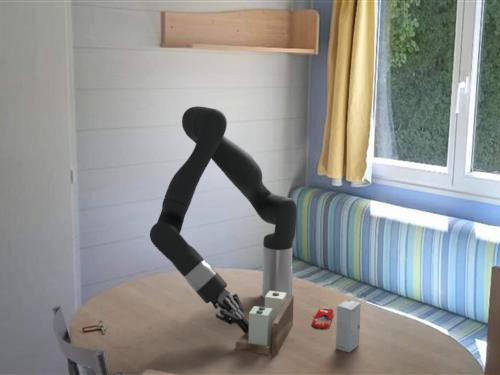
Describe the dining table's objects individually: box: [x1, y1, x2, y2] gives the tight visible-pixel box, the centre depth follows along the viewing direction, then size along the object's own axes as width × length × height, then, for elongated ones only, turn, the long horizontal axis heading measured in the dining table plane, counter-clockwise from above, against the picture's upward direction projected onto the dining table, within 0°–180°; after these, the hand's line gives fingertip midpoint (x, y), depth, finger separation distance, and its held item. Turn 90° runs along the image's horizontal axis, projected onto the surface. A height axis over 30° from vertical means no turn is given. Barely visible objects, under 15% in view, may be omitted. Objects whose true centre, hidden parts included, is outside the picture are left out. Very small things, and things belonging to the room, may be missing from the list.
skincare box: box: [335, 299, 362, 353], centre depth 170 cm, size 6×4×12 cm
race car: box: [311, 307, 335, 330], centre depth 184 cm, size 13×5×4 cm, turn 162°
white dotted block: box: [264, 291, 287, 327], centre depth 177 cm, size 5×5×10 cm
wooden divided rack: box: [235, 295, 295, 356], centre depth 173 cm, size 15×19×10 cm
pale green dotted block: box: [247, 305, 273, 348], centre depth 166 cm, size 5×5×10 cm
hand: (249, 330), depth 167 cm, fingers closed
